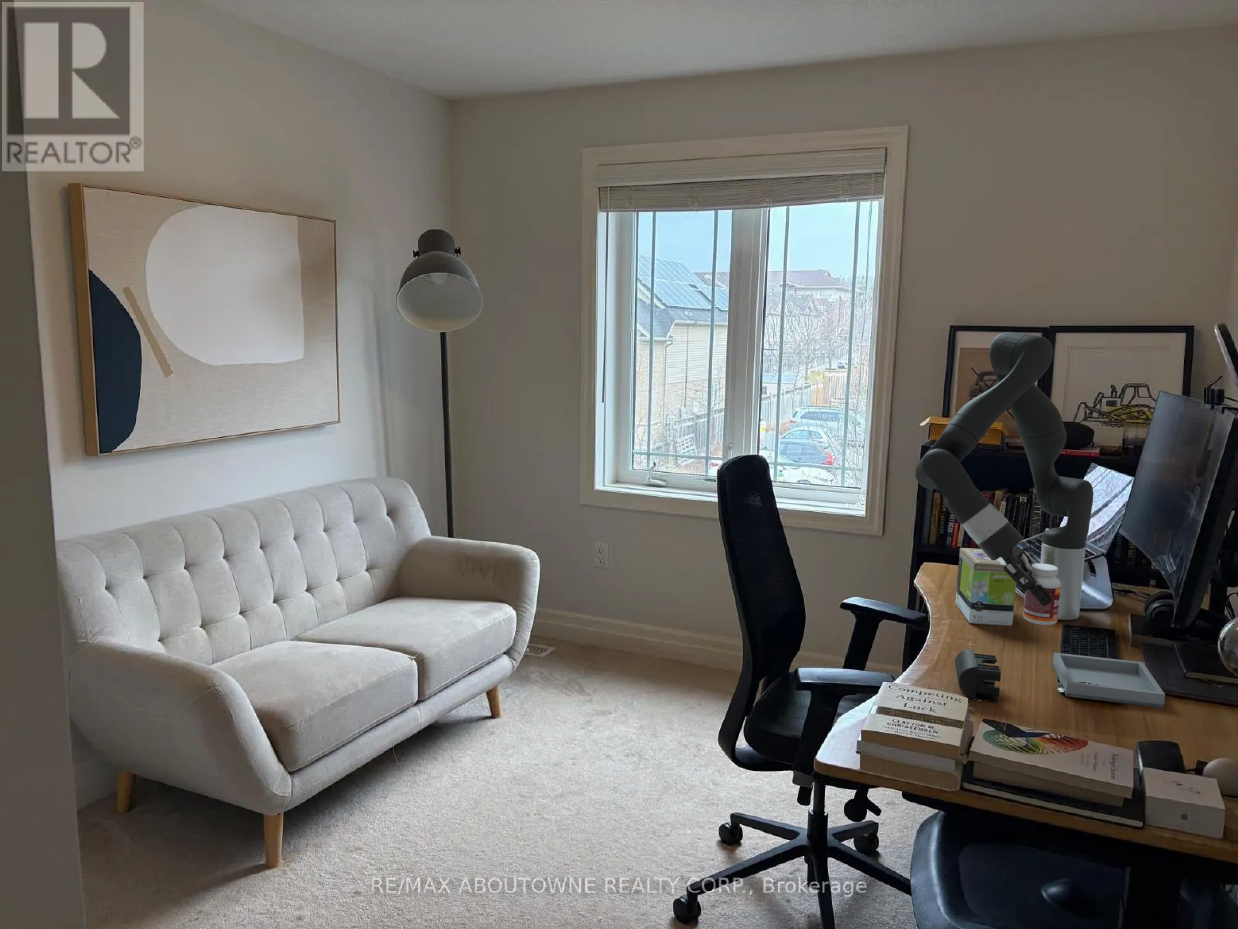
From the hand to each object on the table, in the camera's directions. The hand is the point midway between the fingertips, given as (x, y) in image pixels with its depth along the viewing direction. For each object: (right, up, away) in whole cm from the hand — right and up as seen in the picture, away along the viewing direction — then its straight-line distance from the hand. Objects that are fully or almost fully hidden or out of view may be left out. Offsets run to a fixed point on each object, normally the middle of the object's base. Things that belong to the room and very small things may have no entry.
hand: (1051, 598), depth 170 cm
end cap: (-17, -17, -5) cm, 25 cm away
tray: (+9, -16, -2) cm, 19 cm away
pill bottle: (-2, -5, +2) cm, 5 cm away
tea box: (+2, -10, +38) cm, 39 cm away
